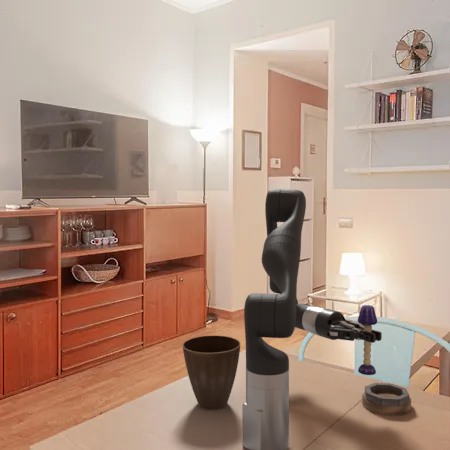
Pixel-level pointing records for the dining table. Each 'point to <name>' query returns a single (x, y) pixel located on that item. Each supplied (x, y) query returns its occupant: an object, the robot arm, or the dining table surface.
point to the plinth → (386, 408)
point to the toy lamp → (367, 319)
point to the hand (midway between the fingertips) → (377, 337)
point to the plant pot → (212, 368)
